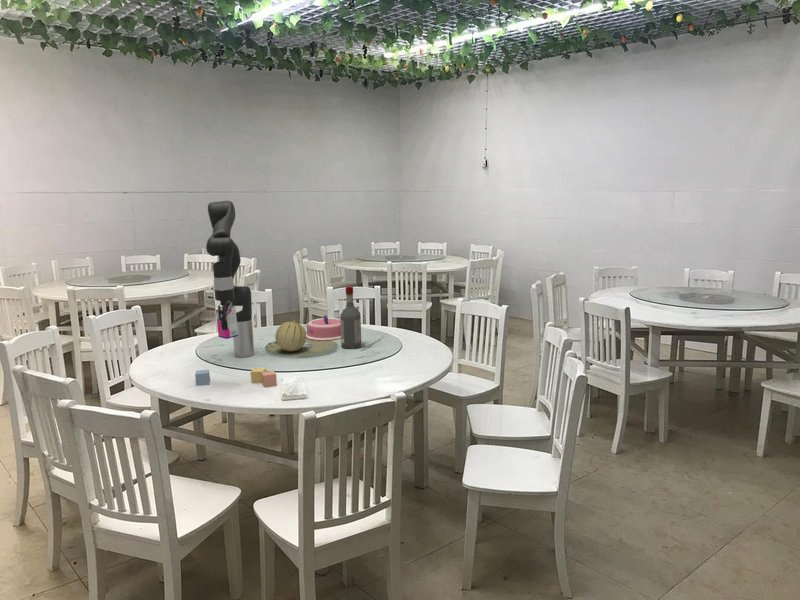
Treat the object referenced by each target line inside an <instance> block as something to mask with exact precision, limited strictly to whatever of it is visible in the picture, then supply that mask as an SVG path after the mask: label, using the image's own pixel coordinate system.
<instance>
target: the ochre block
mask: <svg viewBox="0 0 800 600" xmlns="http://www.w3.org/2000/svg"><path fill="white" fill-rule="evenodd" d="M261 372H267V367H253V368H252V370H250V381H251V382H250V383H251V384H262V374H261Z"/></svg>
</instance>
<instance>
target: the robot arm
mask: <svg viewBox="0 0 800 600" xmlns="http://www.w3.org/2000/svg"><path fill="white" fill-rule="evenodd" d="M207 213H208V214H207V215H208V217H209V222H210V224H211V227H212V234H211V235H210V236H209V238H208V239H207V241H206V244H205V245H206V246H205V249H206V252H207V254H208V255H209V256H211V257H218V260H219V261H215V262H214V263H213V265H212V270H213V287H214V288H213V289H214V291H213V292H214V299H215V301H218V302H220V303H219V305H218V306H217V310H218V312H219V320H220V321H221V326H222V330H227V329H228V325H227V316H228V315H229V309H230V308H234V307H241V306H242V307H241V310H240V311H236V319H237V328H238V336H236V337H232V339H233V351H234V353H233V354H234V356H235V358H247V357H252V356H255V343H254V330H253V328H254V327H253V315H252V314H253V313H252V312H253V309H252V307H253V306H252V291H251V288H250V287H249V286H248V285H247V286H246V285H244V286H243V285H242V286H239V285H238V286H236V285H235V284H234V283H235V282H234V279H235V275H236V273H237V271H238V270H239V267H240V266H241V261H242V260H241V259H242V258H241V255H240V249H239V247H238V245H237V243H236V242H234V240H233V239H232V238H231V231H232V227H233V225H234V222H235V220H236V209H235V205H234V203H233V202H232V201H231V200H221V201H211V202H209V203H208V204H207ZM225 311H227V312H225ZM223 315H224V317H222V316H223Z"/></svg>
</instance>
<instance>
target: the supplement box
mask: <svg viewBox="0 0 800 600" xmlns="http://www.w3.org/2000/svg"><path fill="white" fill-rule="evenodd" d="M236 310H237V309H236V308H235V307H233V308H230V309H229V315H228V316H227V325H228V329H227V330H222V326H221V321H220V320H219V312H218V309H216V310H215V315H216V316H215V317H216V324H217V326H216V327H217V334H218V338H221V339H225V340H228V339H233V337H236V336H238V328H237V319H236V312H237V311H236ZM225 312H227V311H225ZM222 317H224V315H223V316H222Z"/></svg>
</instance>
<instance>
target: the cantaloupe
mask: <svg viewBox="0 0 800 600" xmlns="http://www.w3.org/2000/svg"><path fill="white" fill-rule="evenodd" d="M306 333H307V330H306V329H305V327H303V325H302V324H300V323H298V322H296V320H295V319H293V321H285V322H283V323H281V324H280V325H279V326H278V327H277V329H276V331H275V334H274V335H275V338H274V339H275V342H276V344H277V346H278V347H279V348H280V349H281V350H283V351H285V352H287V353H288V352H296V351H298V350H301V348H303V346H304V345H305V343H306V340H307V339H306Z"/></svg>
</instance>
